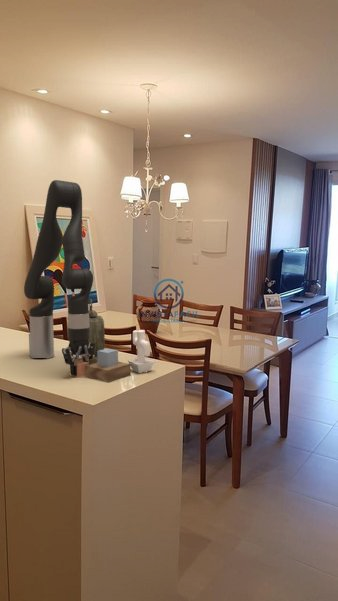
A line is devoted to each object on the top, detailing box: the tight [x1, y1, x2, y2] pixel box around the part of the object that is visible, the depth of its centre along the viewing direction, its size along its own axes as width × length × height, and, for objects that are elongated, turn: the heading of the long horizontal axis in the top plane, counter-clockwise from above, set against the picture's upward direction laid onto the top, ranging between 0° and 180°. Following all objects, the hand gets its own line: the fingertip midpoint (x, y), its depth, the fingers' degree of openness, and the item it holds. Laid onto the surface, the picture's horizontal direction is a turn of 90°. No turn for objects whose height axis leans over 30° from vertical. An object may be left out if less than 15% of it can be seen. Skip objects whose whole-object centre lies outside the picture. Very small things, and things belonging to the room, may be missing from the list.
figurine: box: [127, 329, 156, 374], centre depth 165 cm, size 7×9×15 cm
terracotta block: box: [69, 360, 90, 378], centre depth 160 cm, size 4×4×4 cm
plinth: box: [85, 361, 132, 383], centre depth 159 cm, size 11×11×4 cm
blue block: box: [96, 348, 119, 367], centre depth 159 cm, size 5×5×5 cm
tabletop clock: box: [88, 298, 106, 359], centre depth 179 cm, size 14×9×25 cm, turn 16°
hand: (79, 373), depth 161 cm, fingers closed on terracotta block, 4 cm apart
